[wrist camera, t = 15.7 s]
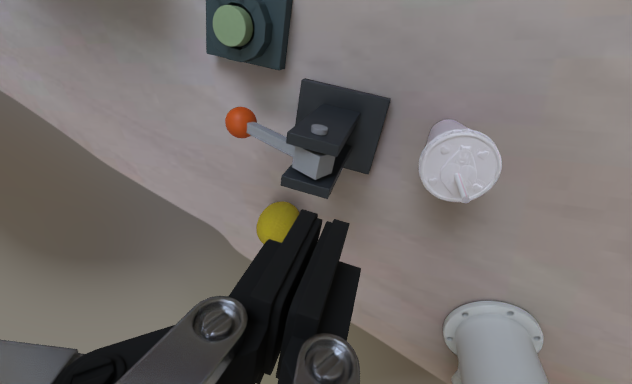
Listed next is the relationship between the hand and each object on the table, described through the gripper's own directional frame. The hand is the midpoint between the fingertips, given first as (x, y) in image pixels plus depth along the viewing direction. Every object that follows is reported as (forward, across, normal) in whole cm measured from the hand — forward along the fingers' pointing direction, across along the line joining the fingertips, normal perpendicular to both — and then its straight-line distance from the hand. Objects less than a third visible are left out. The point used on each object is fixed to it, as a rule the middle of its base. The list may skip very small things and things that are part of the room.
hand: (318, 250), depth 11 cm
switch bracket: (+27, +4, +4) cm, 28 cm away
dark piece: (+27, +16, -4) cm, 32 cm away
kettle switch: (+20, +8, +4) cm, 22 cm away
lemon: (+27, +8, +18) cm, 33 cm away
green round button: (+24, +16, -5) cm, 29 cm away
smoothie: (+27, -8, +2) cm, 29 cm away
